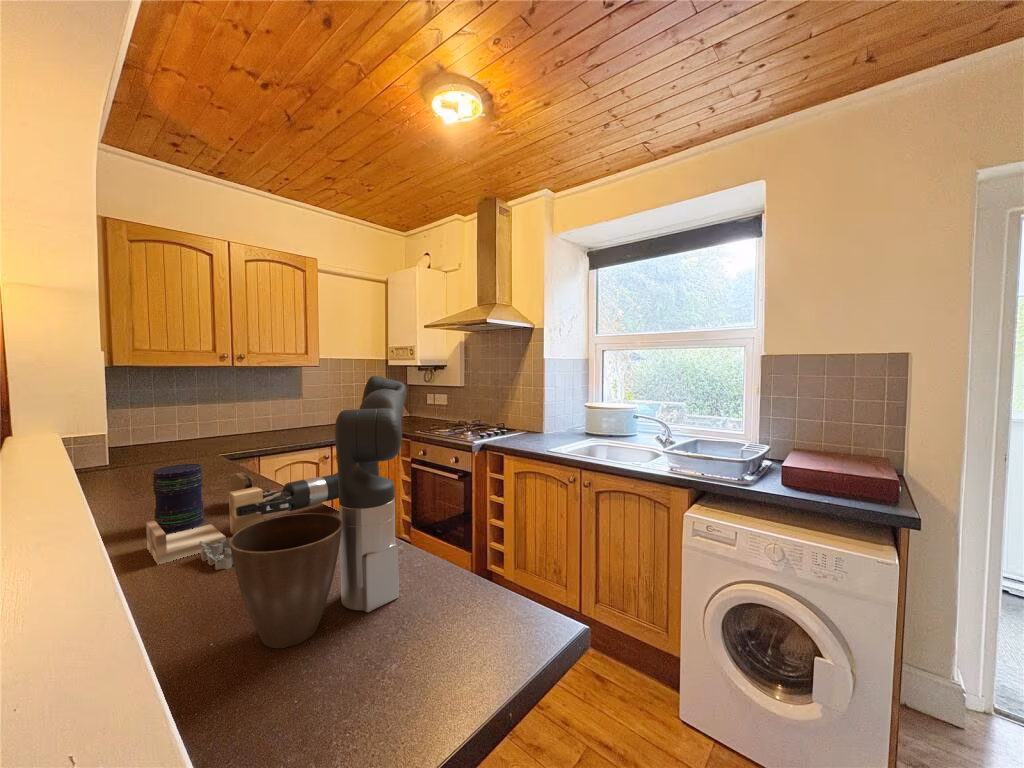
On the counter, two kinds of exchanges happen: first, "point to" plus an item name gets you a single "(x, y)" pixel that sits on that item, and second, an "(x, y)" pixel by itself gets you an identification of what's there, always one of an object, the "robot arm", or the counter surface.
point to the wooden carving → (240, 481)
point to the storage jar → (178, 497)
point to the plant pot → (286, 573)
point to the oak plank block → (242, 499)
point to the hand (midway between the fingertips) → (233, 509)
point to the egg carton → (217, 554)
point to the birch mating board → (179, 541)
